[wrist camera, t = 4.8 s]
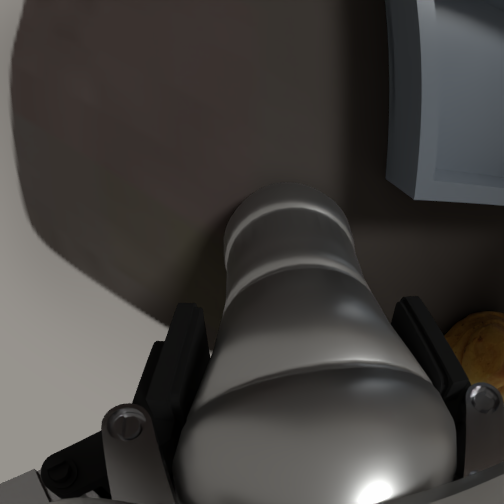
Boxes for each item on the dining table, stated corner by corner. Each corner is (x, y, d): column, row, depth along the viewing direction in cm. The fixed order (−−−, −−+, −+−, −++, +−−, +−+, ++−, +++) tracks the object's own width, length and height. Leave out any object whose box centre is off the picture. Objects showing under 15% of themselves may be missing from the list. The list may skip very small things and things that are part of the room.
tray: (379, -39, 11) (405, -64, 7) (537, 24, 10) (571, 23, 7) (385, 178, 17) (414, 199, 14) (533, 193, 17) (566, 212, 13)
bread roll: (531, 314, 22) (570, 364, 15) (479, 381, 26) (506, 434, 19) (462, 285, 21) (515, 353, 14) (400, 372, 25) (426, 444, 18)
